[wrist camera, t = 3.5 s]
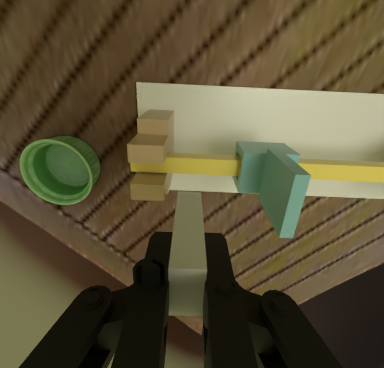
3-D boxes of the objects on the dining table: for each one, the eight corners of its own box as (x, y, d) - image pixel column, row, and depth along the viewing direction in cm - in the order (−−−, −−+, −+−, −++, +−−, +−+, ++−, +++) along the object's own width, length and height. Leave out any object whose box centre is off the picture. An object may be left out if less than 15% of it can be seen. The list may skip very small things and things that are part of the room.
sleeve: (237, 136, 23) (264, 173, 14) (285, 138, 23) (342, 176, 14) (231, 180, 26) (251, 236, 16) (275, 182, 26) (319, 239, 17)
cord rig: (138, 82, 28) (101, 84, 17) (475, 98, 28) (657, 111, 17) (143, 185, 34) (119, 237, 23) (421, 196, 34) (530, 254, 23)
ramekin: (59, 117, 30) (38, 123, 26) (116, 160, 32) (106, 171, 28) (29, 165, 33) (7, 177, 29) (84, 201, 35) (70, 217, 31)
